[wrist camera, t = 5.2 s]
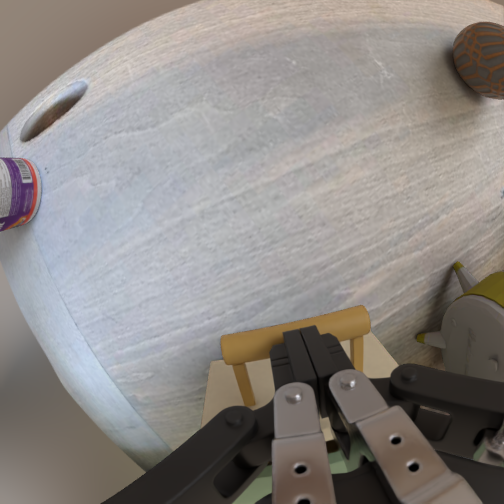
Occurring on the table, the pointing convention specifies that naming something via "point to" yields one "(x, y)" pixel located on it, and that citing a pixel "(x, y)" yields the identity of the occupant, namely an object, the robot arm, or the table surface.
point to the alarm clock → (473, 328)
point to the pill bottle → (18, 192)
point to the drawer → (259, 365)
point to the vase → (481, 58)
